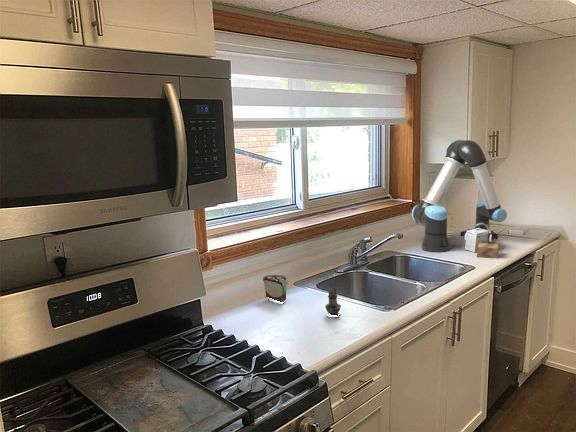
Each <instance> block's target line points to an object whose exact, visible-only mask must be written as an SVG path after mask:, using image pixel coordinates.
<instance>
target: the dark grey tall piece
mask: <svg viewBox="0 0 576 432" xmlns="http://www.w3.org/2000/svg"><path fill="white" fill-rule="evenodd" d="M327 298H328V303H327V304H325V305H324V306H325V309H326V312H327V313H330V314H331V315H337V316H338V314H340V313H339V312H340V311H341V307H342V305H341V304H339V303H338V298H339V297H338V295H337V288H336V287H335V286H334V285H333V284H331V286H330V287H329V288H328V296H327Z"/></svg>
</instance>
